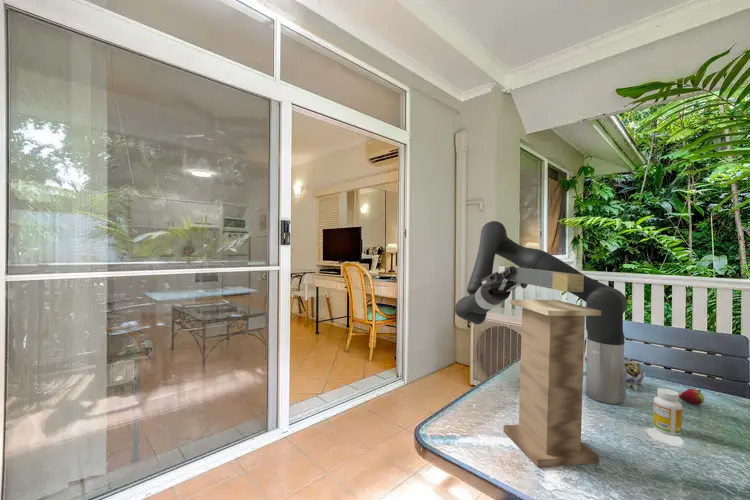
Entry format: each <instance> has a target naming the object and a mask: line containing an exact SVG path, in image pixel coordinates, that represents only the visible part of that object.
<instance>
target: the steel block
mask: <svg viewBox="0 0 750 500" xmlns="http://www.w3.org/2000/svg"><path fill="white" fill-rule="evenodd" d="M509 267H510V266H504V271H505V270H507V269H508V268H509ZM514 267H515V271H516V273H515V274H514V275H513V276H512V277H511V278H509V279H508V280H510V281H515V282H520V283H525V284H528V285H530V286H535V287H541V288H546V289H550V290H555V291H561V292H566V293H570V292H583V284H584V275H585V274H584V275H580V274H571V273H563V272H554V271H546V270H537V269H529V268H521V267H519V266H514Z"/></svg>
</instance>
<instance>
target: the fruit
mask: <svg viewBox="0 0 750 500" xmlns="http://www.w3.org/2000/svg"><path fill="white" fill-rule="evenodd" d="M701 392H702V391H701V389H696V388H688V389H686V390H684V391H682V392H681V393H680V394H679V399H680V400H682V401H683V402H685V403H688V402H689V403H688V404H691V403H692V405H694V404H695V405H694V406H697V405H698V406H699V405H702V404H704V402H705V396H704V393H701Z"/></svg>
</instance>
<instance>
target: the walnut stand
mask: <svg viewBox="0 0 750 500" xmlns="http://www.w3.org/2000/svg"><path fill="white" fill-rule="evenodd" d="M509 305H512V306H513V305H514V306H517V307H519V308H521V309H522V310H521V336H520V337H521V338H520V339H521V341H520V343H521V344H520V373H519V375H520V376H519V403H518V405H519V406H518V407H519V409H518V424H507V425H504V424H503V433H504V434H505V435H506V436H507V437H508V438H509V439H510V440H511V441H512V442H513V443H514V444H515V445H516V446H517V448H519V450H520V451H521V452H522V453H523V454H524V455H525V456H526V457H527V458H528V459H529V460H530V461H531V462H532V463H533V464H534V466H536V467H537V468H544V467H555V466H557V467H559V466H568V465H569V466H571V465H581V464H582V465H583V464H593V463H599V462H600V460H599V459H600V456H599V454H598V453H597V452H595V451H594V450H593V449H592V448H590V447H589V446H587V445H586V444H585V443H584V442H582V423H583V422H582V420H583V416H582V414H583V413H582V412H583V392H584V391H583V388H584V386H583V383H584V357H585V356H584V353H585V351H584V350H585V329H586V316H599V315H601V310H596V309H592V308H588V307H586V306H583V305H579V304H574V303H570V302H566V301H562V300H558V299H510V301H509Z"/></svg>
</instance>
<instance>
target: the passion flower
mask: <svg viewBox="0 0 750 500" xmlns="http://www.w3.org/2000/svg"><path fill="white" fill-rule="evenodd" d="M624 368H625V369H626V389H629V388H630V389H631V390H633V391H634V392H636V391H637V390H638V385H640V386H642V387H645V383H644V381H645V376H646V372H644V371H643V370H642V369H641V366H640V363H639V362H636V363H635V361H633V360H631V358H630V357H624Z"/></svg>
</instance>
